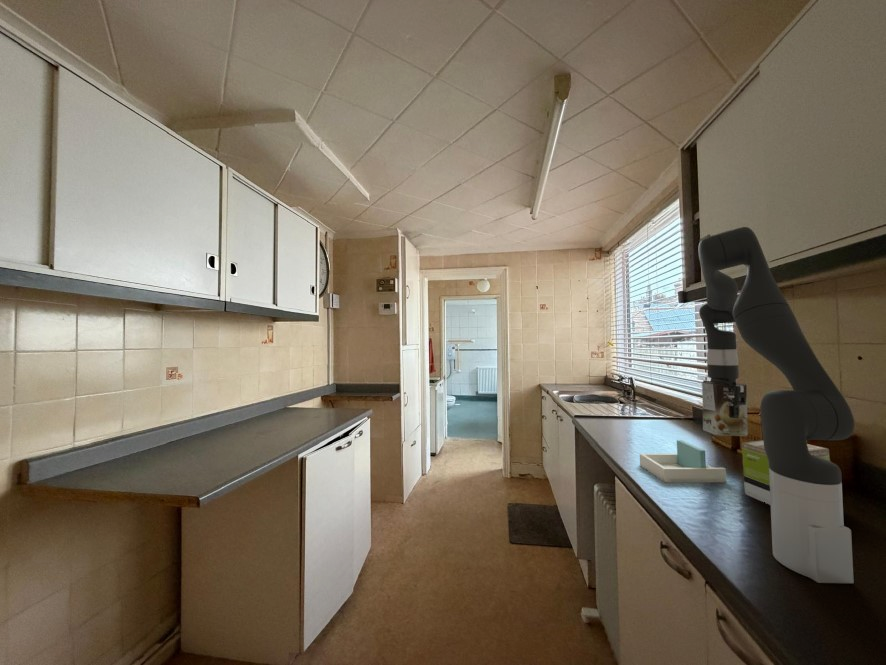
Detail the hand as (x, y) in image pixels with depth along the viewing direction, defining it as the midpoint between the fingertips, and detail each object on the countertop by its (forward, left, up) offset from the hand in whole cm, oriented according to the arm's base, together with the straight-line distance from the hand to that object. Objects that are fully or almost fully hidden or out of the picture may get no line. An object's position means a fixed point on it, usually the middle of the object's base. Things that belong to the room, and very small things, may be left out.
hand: (724, 415), depth 102 cm
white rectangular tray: (0, +14, -19) cm, 23 cm away
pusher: (0, +11, -17) cm, 20 cm away
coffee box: (0, 0, -6) cm, 6 cm away
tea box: (-17, -2, -19) cm, 25 cm away
